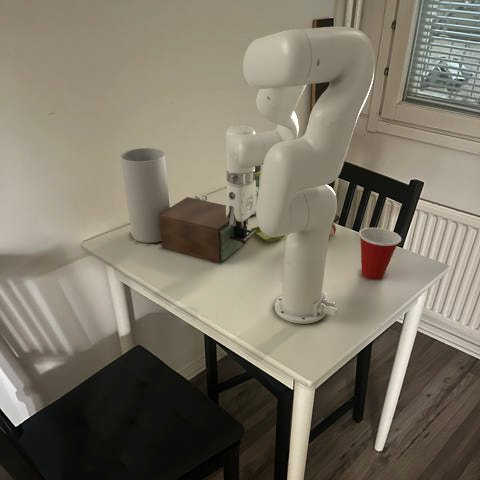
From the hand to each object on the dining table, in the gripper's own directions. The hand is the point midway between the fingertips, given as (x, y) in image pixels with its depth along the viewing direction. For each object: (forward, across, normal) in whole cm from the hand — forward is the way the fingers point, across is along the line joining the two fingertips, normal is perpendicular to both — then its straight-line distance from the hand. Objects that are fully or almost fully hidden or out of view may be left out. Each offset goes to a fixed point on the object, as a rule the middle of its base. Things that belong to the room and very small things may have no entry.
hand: (240, 238), depth 139 cm
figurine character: (+5, +18, -16) cm, 25 cm away
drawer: (+4, 0, +8) cm, 10 cm away
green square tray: (+5, +14, -2) cm, 15 cm away
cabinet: (+5, 0, +13) cm, 14 cm away
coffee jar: (+6, +27, +13) cm, 31 cm away
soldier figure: (+6, +20, +26) cm, 33 cm away
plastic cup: (+5, +8, -37) cm, 38 cm away
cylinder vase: (+6, -2, +31) cm, 31 cm away
